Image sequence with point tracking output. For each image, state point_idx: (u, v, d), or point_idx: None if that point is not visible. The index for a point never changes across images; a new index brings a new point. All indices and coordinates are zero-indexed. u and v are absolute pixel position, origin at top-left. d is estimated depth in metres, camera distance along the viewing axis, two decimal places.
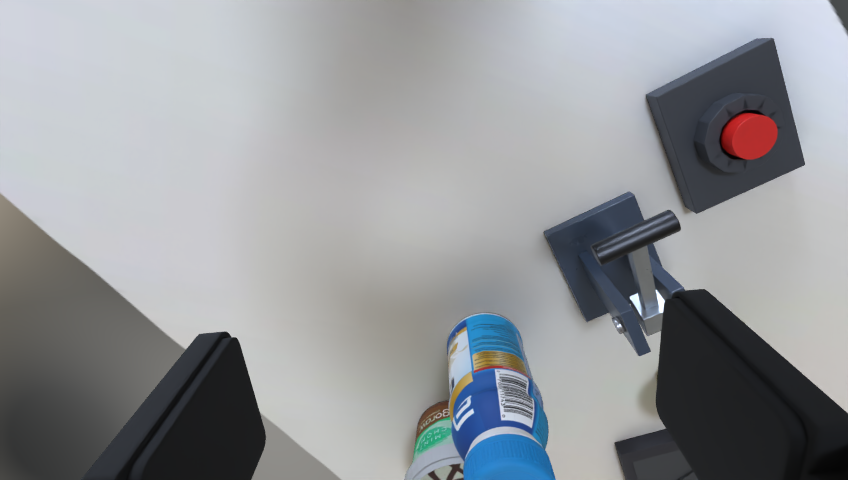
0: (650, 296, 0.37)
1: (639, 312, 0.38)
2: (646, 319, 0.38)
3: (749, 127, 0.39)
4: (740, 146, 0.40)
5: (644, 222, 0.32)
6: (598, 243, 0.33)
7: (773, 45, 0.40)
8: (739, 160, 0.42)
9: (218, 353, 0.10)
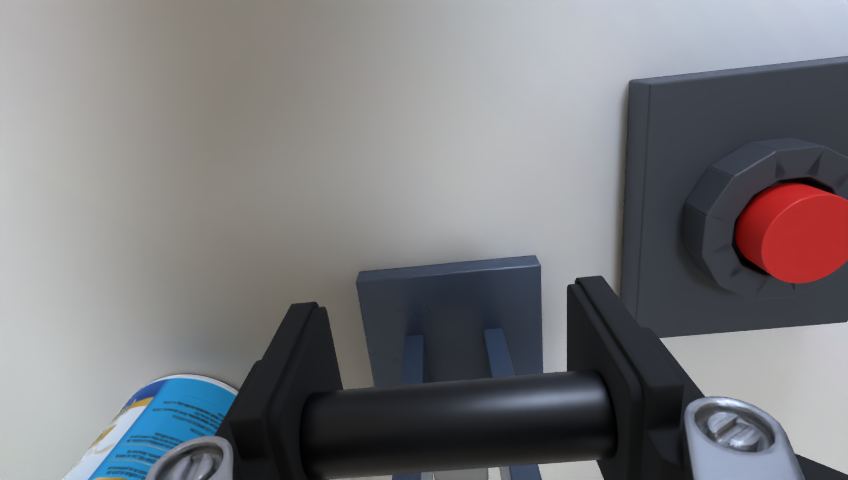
0: None
1: None
2: None
3: (811, 215, 0.18)
4: (777, 247, 0.18)
5: (504, 386, 0.09)
6: (329, 401, 0.09)
7: None
8: (754, 273, 0.20)
9: (314, 319, 0.10)
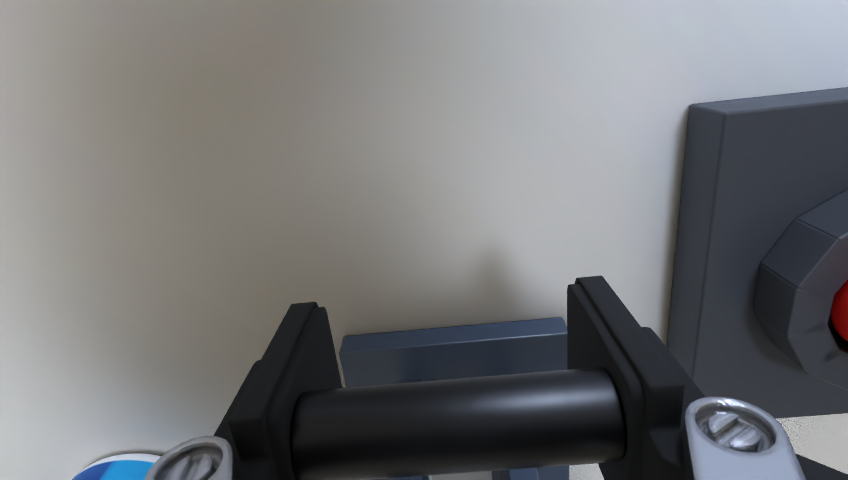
0: None
1: None
2: None
3: None
4: None
5: (503, 376, 0.09)
6: (326, 390, 0.09)
7: None
8: None
9: (314, 320, 0.10)
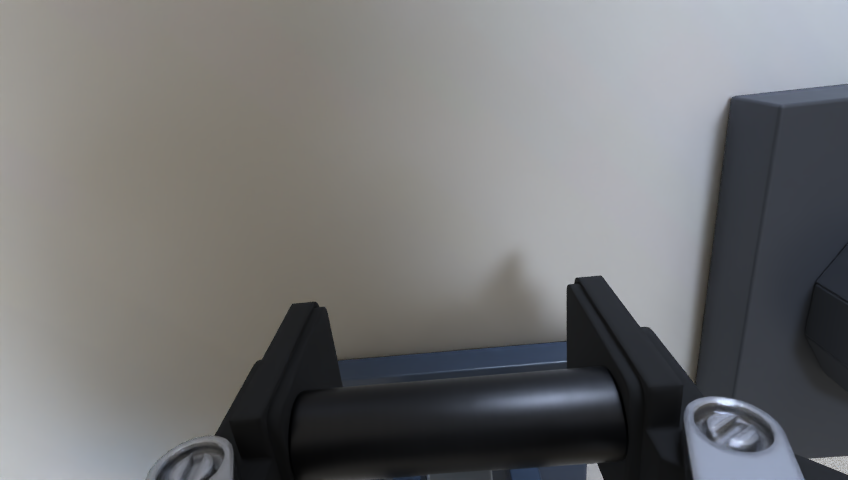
0: None
1: None
2: None
3: None
4: None
5: (503, 374, 0.09)
6: (328, 388, 0.09)
7: None
8: None
9: (315, 319, 0.10)
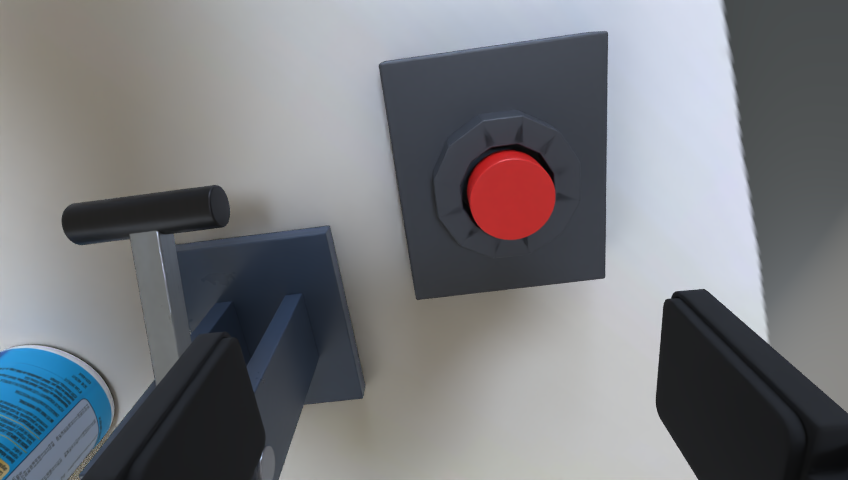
0: None
1: None
2: None
3: (507, 177, 0.20)
4: (483, 207, 0.20)
5: None
6: None
7: (604, 46, 0.21)
8: None
9: (218, 353, 0.10)
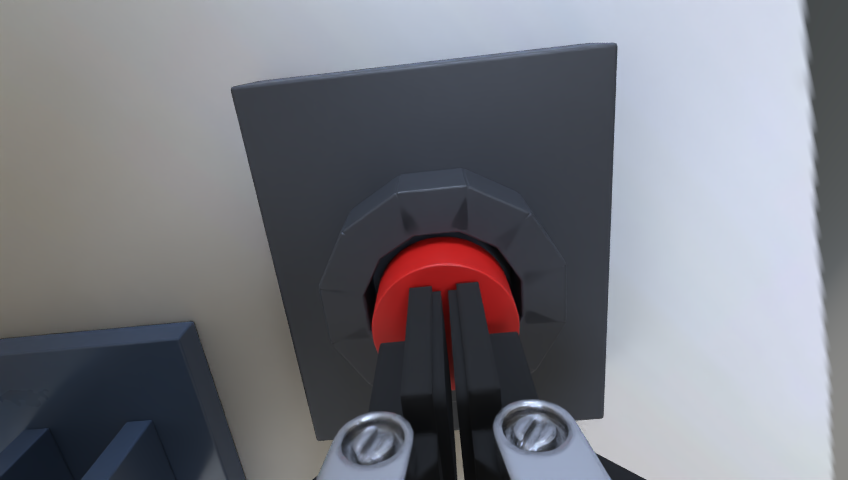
0: None
1: None
2: None
3: None
4: (396, 340, 0.12)
5: None
6: None
7: (610, 67, 0.12)
8: None
9: (438, 302, 0.10)
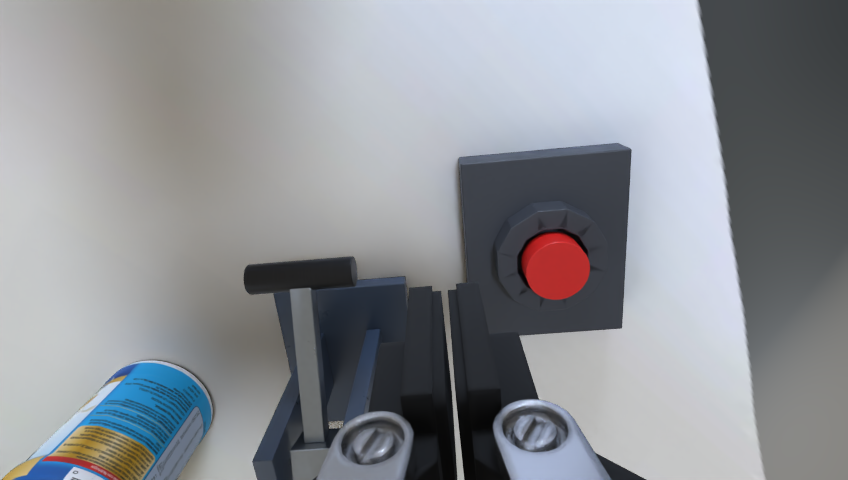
0: (312, 411, 0.25)
1: (295, 444, 0.25)
2: (294, 451, 0.24)
3: (554, 255, 0.27)
4: (536, 275, 0.28)
5: None
6: None
7: (628, 158, 0.28)
8: None
9: (438, 302, 0.10)
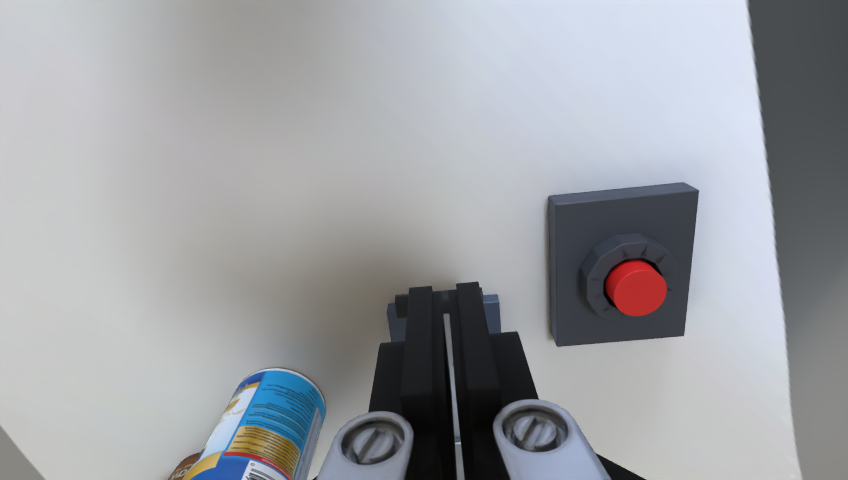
0: None
1: None
2: None
3: (638, 280, 0.33)
4: (622, 297, 0.33)
5: None
6: None
7: (696, 198, 0.34)
8: (618, 309, 0.35)
9: (438, 302, 0.10)
